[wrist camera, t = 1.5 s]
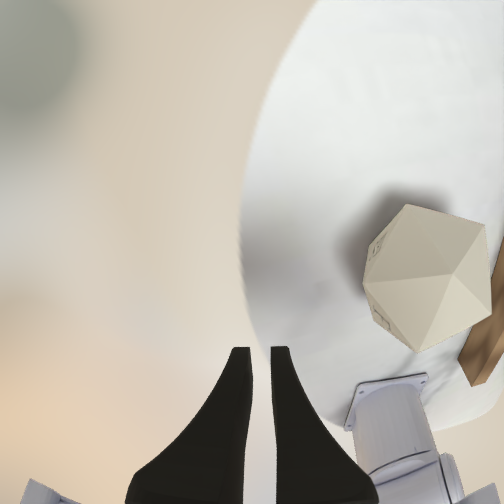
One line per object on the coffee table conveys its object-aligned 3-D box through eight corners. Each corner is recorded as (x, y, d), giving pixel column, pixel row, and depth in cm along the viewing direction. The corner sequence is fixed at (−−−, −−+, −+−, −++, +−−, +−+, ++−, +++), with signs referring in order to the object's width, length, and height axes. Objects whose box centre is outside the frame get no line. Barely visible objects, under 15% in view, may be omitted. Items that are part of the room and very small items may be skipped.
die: (362, 173, 18) (328, 315, 14) (492, 173, 13) (509, 332, 9) (381, 248, 24) (356, 362, 19) (480, 253, 19) (473, 376, 14)
